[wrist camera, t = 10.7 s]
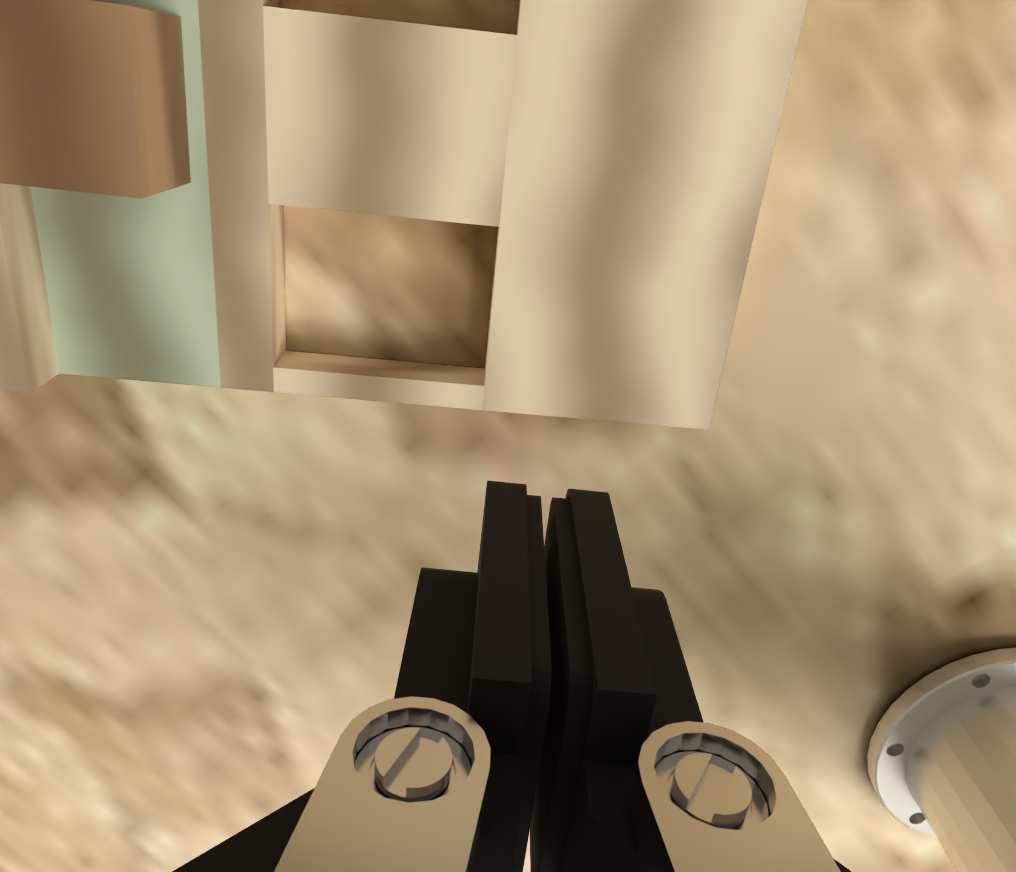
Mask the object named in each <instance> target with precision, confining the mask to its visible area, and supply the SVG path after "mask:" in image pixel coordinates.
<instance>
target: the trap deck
mask: <svg viewBox="0 0 1016 872" xmlns="http://www.w3.org/2000/svg"><path fill="white" fill-rule="evenodd" d="M90 1H98V2H106V3H114V4H122V5H128V6H133V7H138V8H142V9H147V10H152V11H156V12H161V13H166V14H170V15H175V16H180V17H181V25H182V42H183V59H184V76H185V93H186V110H187V127H188V144H189V161H190V178H191V183H188V184H185V185H182V186H179V187H176V188H173V189H170V190H167V191H164V192H161V193H158V194H155V195H152V196H149V197H145V198H142V199H140V198H131V197H121V196H112V195H103V194H94V193H85V192H76V191H67V190H58V189H49V188H39V187H30V186H21V185H12V184H3V183H0V390H1V391H12V392H24V393H30V392H32V391H33V390H35V389H36V388H38V387H39V386H41V385H42V384H44V383H45V382H47V381H48V380H50V379H51V378H53V377H54V376H56V375H57V374H71V375H82V376H94V377H105V378H117V379H128V380H140V381H152V382H163V383H175V384H186V385H198V386H209V387H221V388H233V389H244V390H256V391H267V392H279V393H290V394H302V395H313V396H325V397H337V398H348V399H360V400H371V401H383V402H394V403H406V404H418V405H429V406H441V407H452V408H464V409H475V410H487V411H499V412H510V413H522V414H533V415H545V416H556V417H568V418H579V419H591V420H603V421H614V422H626V423H637V424H649V425H660V426H672V427H684V428H695V429H707V430H709V427H710V423H711V418H712V414H713V410H714V405H715V401H716V397H717V392H718V388H719V384H720V379H721V375H722V371H723V366H724V362H725V358H726V353H727V349H728V345H729V340H730V336H731V332H732V327H733V323H734V319H735V314H736V310H737V306H738V301H739V297H740V293H741V288H742V284H743V280H744V275H745V271H746V266H747V262H748V258H749V253H750V249H751V245H752V240H753V236H754V232H755V227H756V223H757V219H758V214H759V210H760V206H761V201H762V197H763V193H764V188H765V184H766V180H767V175H768V171H769V167H770V162H771V158H772V154H773V149H774V145H775V141H776V136H777V132H778V128H779V123H780V119H781V115H782V110H783V106H784V102H785V97H786V93H787V89H788V84H789V80H790V76H791V71H792V67H793V63H794V58H795V54H796V50H797V45H798V41H799V37H800V32H801V28H802V24H803V19H804V15H805V11H806V6H807V2H808V0H519V9H518V20H517V31H516V35H512V34H503V33H495V32H486V31H477V30H468V29H460V28H451V27H442V26H434V25H425V24H416V23H408V22H399V21H390V20H381V19H373V18H364V17H355V16H347V15H338V14H329V13H320V12H312V11H303V10H294V9H286V8H279V0H90ZM283 205H286V206H296V207H306V208H316V209H326V210H336V211H346V212H356V213H366V214H376V215H386V216H396V217H406V218H416V219H426V220H436V221H446V222H456V223H466V224H476V225H486V226H496V227H498V234H497V245H496V255H495V266H494V277H493V287H492V298H491V309H490V319H489V330H488V341H487V352H486V362H485V368H474V367H463V366H452V365H440V364H429V363H418V362H407V361H396V360H385V359H373V358H362V357H351V356H340V355H329V354H318V353H306V352H295V351H286V317H285V268H284V220H283Z"/></svg>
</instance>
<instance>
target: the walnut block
mask: <svg viewBox="0 0 1016 872" xmlns="http://www.w3.org/2000/svg"><path fill="white" fill-rule="evenodd" d="M0 183H3V184H12V185H21V186H30V187H39V188H49V189H58V190H67V191H76V192H85V193H94V194H103V195H112V196H121V197H131V198H140V199H142V198H145V197H149V196H152V195H155V194H158V193H161V192H164V191H167V190H170V189H173V188H176V187H179V186H182V185H185V184H188V183H191V178H190V161H189V144H188V127H187V110H186V93H185V76H184V59H183V42H182V25H181V17H180V16H175V15H170V14H166V13H161V12H156V11H152V10H147V9H142V8H138V7H133V6H128V5H122V4H114V3H106V2H98V1H90V0H0Z"/></svg>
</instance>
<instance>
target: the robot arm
mask: <svg viewBox="0 0 1016 872" xmlns="http://www.w3.org/2000/svg"><path fill="white" fill-rule="evenodd" d="M867 764H868V774H869V777H870V780H871V783H872V786H873V788H874V790H875V791H876V793H877V795H878V797H879V798H880V800H881V802H882V804H883V806H884V807H885V808H886V809H887V810H888V811H889V812H890V813H891V815H892V816H893V817H894V818H895V819H897V820H898V821H900V822H901V823H903V824H904V825H905V826H907V827H909V828H912V829H914V830H917V831H919V832H922V833H924V834H927V835H932V836H936V837H937V839H938V841H939V842H940V844H941V846H942V847H943V849H944V851H945V853H946V854H947V856H948V858H949V859H950V861H951V863H952V864H953V866H954V868H955V870H956V871H957V872H1016V648H1006V649H997V650H992V651H988V652H983V653H979V654H974V655H971V656H968V657H966V658H963V659H960V660H958V661H955V662H952V663H949V664H947V665H945V666H944V667H942V668H940V669H938V670H936V671H934V672H932V673H930V674H928V675H927V676H925V677H924V678H922V679H921V680H920V681H918V682H917V683H916V684H914V685H913V686H911V687H910V688H909V689H907V690H906V691H905V692H904V693H903V694H902V695H901V696H900V697H899V698H898V699H897V700H896V701H895V702H894V703H893V704H892V705H891V706H890V708H889V709H888V710H887V712H886V713H885V714H884V716H883V717H882V719H881V720H880V721H879V723H878V725H877V727H876V729H875V731H874V734H873V736H872V738H871V740H870V745H869V750H868V755H867ZM529 830H530V860H531V872H851V871H850V870H848V869H847V868H846V867H844V866H843V865H842V864H840V863H839V862H837V861H836V860H835V859H833V857H832V856H831V854H830V852H829V851H828V849H827V847H826V845H825V844H824V842H823V840H822V838H821V837H820V835H819V833H818V831H817V830H816V828H815V826H814V825H813V823H812V821H811V819H810V818H809V816H808V814H807V812H806V811H805V809H804V807H803V806H802V804H801V802H800V800H799V799H798V797H797V795H796V793H795V792H794V790H793V788H792V786H791V785H790V783H789V781H788V780H787V778H786V776H785V775H784V773H783V772H782V771H781V769H780V768H779V767H778V765H777V764H776V763H775V761H774V760H773V759H772V758H771V757H770V756H769V755H768V754H767V753H766V752H764V751H763V750H762V749H761V748H760V747H758V746H757V745H756V744H755V743H754V742H752V741H750V740H749V739H747V738H745V737H743V736H741V735H739V734H738V733H736V732H734V731H732V730H729V729H726V728H723V727H720V726H717V725H713V724H710V723H703V719H702V716H701V713H700V710H699V706H698V703H697V700H696V696H695V693H694V690H693V687H692V683H691V680H690V677H689V673H688V670H687V667H686V664H685V660H684V657H683V654H682V650H681V647H680V644H679V641H678V637H677V634H676V631H675V627H674V624H673V621H672V618H671V614H670V611H669V608H668V605H667V601H666V598H665V596H664V594H663V592H661V591H660V590H653V589H642V588H632V587H631V584H630V580H629V576H628V572H627V567H626V563H625V559H624V555H623V551H622V547H621V542H620V538H619V534H618V530H617V526H616V522H615V517H614V513H613V509H612V505H611V501H610V497H609V494H608V493H606V492H596V491H586V490H576V489H568V491H567V494H566V498H565V499H563V498H553V497H552V500H551V505H550V511H549V518H548V525H547V532H546V539H545V545H544V539H543V524H542V508H541V496H533V495H527V490H526V484H516V483H505V482H495V481H487V488H486V497H485V506H484V516H483V525H482V534H481V544H480V553H479V563H478V572H477V573H474V572H463V571H453V570H442V569H432V568H421V571H420V575H419V580H418V585H417V590H416V594H415V599H414V604H413V609H412V614H411V619H410V624H409V628H408V633H407V638H406V643H405V648H404V653H403V657H402V662H401V667H400V672H399V677H398V682H397V687H396V691H395V696H394V699H390V700H387V701H384V702H382V703H379V704H377V705H374V706H372V707H369V708H368V709H366V710H365V711H363V712H362V713H361V714H359V715H358V716H357V717H355V718H354V719H353V720H352V721H351V722H350V723H349V725H348V726H347V727H346V729H345V730H344V732H343V733H342V734H341V736H340V738H339V740H338V742H337V744H336V746H335V748H334V750H333V752H332V754H331V756H330V758H329V760H328V762H327V764H326V766H325V768H324V770H323V772H322V774H321V776H320V779H319V781H318V783H317V785H316V787H315V788H314V789H312V790H310V791H309V792H307V793H305V794H304V795H302V796H300V797H298V798H297V799H295V800H293V801H292V802H290V803H288V804H287V805H285V806H283V807H281V808H280V809H278V810H276V811H275V812H273V813H271V814H270V815H268V816H266V817H264V818H263V819H261V820H259V821H258V822H256V823H254V824H253V825H251V826H249V827H247V828H246V829H244V830H242V831H241V832H239V833H237V834H235V835H234V836H232V837H230V838H229V839H227V840H225V841H224V842H222V843H220V844H218V845H217V846H215V847H213V848H212V849H210V850H208V851H207V852H205V853H203V854H201V855H200V856H198V857H196V858H195V859H193V860H191V861H190V862H188V863H186V864H184V865H183V866H181V867H179V868H178V869H176V870H174V871H173V872H523V866H524V860H525V854H526V848H527V842H528V836H529Z"/></svg>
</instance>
